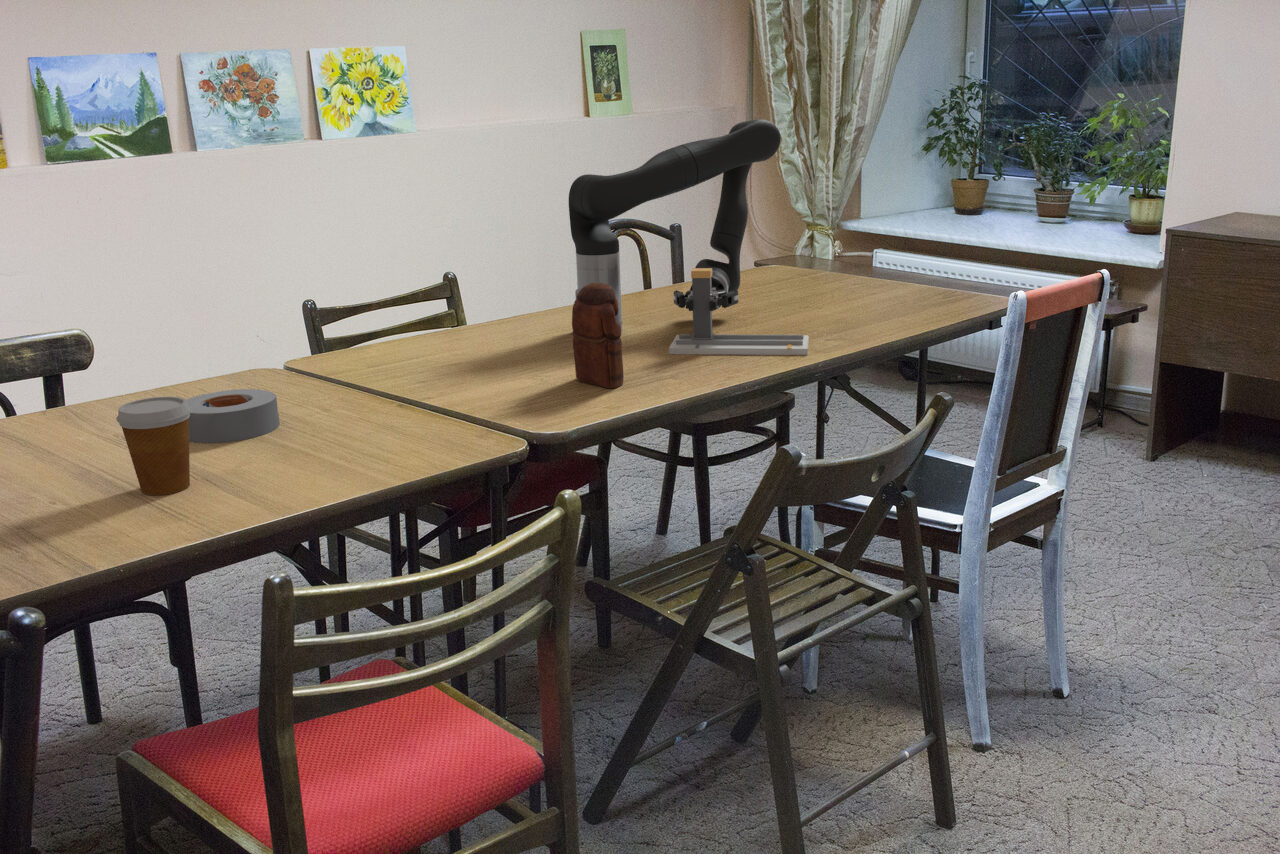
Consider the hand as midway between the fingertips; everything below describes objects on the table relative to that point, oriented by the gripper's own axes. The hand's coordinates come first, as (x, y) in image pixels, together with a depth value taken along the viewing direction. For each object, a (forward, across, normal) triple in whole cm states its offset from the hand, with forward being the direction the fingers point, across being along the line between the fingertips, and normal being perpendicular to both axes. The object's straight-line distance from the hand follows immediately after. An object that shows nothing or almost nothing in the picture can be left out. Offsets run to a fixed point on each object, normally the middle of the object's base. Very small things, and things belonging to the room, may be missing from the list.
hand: (700, 305), depth 229 cm
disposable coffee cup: (+85, -66, +9) cm, 108 cm away
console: (-3, +7, +9) cm, 12 cm away
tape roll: (+57, -71, +10) cm, 91 cm away
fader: (-3, 0, +7) cm, 8 cm away
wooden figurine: (+25, -16, +9) cm, 31 cm away
